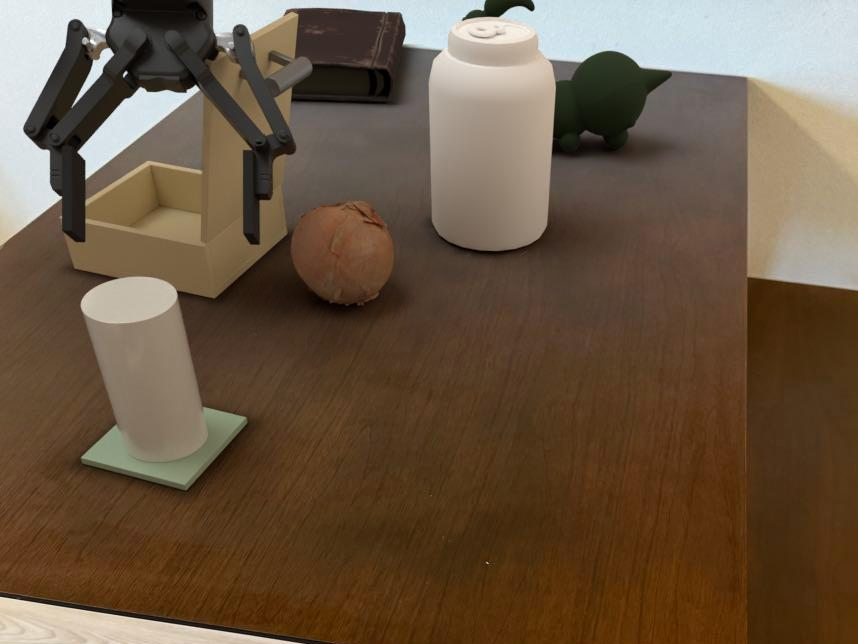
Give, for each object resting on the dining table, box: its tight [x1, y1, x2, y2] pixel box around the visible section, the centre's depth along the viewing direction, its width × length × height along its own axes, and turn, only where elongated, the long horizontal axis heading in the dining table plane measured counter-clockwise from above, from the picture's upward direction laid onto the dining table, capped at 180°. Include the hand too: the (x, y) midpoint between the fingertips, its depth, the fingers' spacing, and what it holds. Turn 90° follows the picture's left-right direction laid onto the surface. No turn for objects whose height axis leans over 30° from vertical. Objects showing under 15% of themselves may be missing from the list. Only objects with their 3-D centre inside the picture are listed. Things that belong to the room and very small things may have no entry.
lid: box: [200, 12, 312, 244], centre depth 87 cm, size 16×15×4 cm
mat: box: [80, 406, 248, 491], centre depth 75 cm, size 9×9×1 cm
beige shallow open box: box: [58, 160, 288, 299], centre depth 96 cm, size 16×15×5 cm
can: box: [428, 16, 556, 252], centre depth 98 cm, size 12×12×20 cm
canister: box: [80, 277, 208, 463], centre depth 71 cm, size 6×6×12 cm
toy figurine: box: [461, 0, 673, 152], centre depth 116 cm, size 9×19×25 cm
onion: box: [290, 199, 395, 307], centre depth 90 cm, size 10×9×10 cm
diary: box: [282, 7, 407, 103], centre depth 137 cm, size 19×25×5 cm
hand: (163, 238), depth 75 cm, fingers open, 13 cm apart
